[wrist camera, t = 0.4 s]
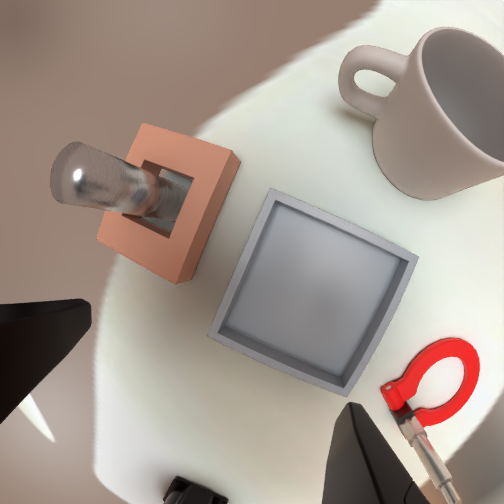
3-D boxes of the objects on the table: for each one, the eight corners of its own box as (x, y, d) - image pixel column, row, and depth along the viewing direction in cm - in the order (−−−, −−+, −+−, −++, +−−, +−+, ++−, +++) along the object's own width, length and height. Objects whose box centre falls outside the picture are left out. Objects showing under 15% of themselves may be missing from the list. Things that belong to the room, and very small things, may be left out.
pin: (180, 226, 23) (76, 212, 11) (151, 213, 23) (43, 193, 12) (195, 191, 23) (100, 148, 11) (165, 179, 23) (64, 136, 11)
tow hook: (460, 317, 20) (373, 380, 21) (564, 361, 7) (432, 483, 8) (481, 383, 19) (404, 439, 20) (558, 443, 6) (452, 532, 7)
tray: (343, 382, 21) (346, 397, 19) (216, 326, 23) (206, 336, 20) (407, 255, 20) (419, 256, 18) (274, 194, 22) (270, 188, 19)
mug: (467, 130, 18) (537, 78, 8) (450, 218, 19) (539, 201, 8) (345, 73, 20) (361, -19, 9) (315, 157, 21) (323, 83, 10)
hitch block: (191, 279, 23) (175, 284, 20) (116, 239, 24) (96, 239, 21) (241, 162, 22) (231, 150, 19) (159, 134, 23) (142, 123, 20)
